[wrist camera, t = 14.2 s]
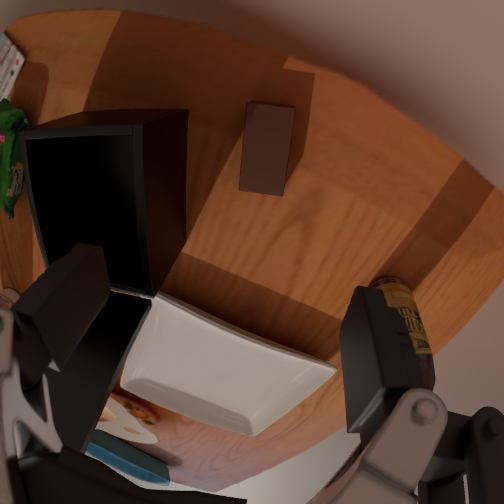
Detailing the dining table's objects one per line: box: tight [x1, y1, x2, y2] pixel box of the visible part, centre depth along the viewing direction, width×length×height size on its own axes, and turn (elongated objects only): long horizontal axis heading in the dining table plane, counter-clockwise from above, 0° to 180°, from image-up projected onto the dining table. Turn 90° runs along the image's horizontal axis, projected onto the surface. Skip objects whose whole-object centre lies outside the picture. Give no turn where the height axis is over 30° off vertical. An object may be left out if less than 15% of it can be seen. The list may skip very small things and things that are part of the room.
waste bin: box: [20, 109, 189, 299], centre depth 26 cm, size 15×13×10 cm
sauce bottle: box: [369, 277, 435, 392], centre depth 26 cm, size 7×6×20 cm
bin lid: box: [45, 291, 152, 454], centre depth 20 cm, size 16×13×6 cm
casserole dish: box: [86, 429, 170, 486], centre depth 77 cm, size 37×22×7 cm, turn 46°
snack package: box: [0, 98, 30, 219], centre depth 27 cm, size 7×16×5 cm, turn 151°
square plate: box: [120, 291, 337, 436], centre depth 44 cm, size 27×27×4 cm
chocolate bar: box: [239, 101, 295, 196], centre depth 26 cm, size 8×4×2 cm, turn 175°
